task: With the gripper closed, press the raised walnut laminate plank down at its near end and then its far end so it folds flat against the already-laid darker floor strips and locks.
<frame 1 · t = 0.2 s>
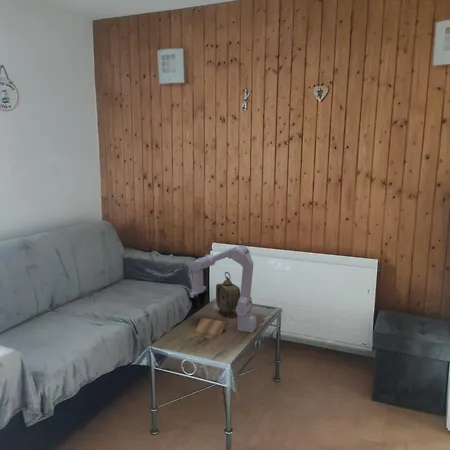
hand: (198, 306, 233), 10 cm above the table, fingers open, 7 cm apart
laid row: (205, 337, 217), on the table
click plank: (210, 327, 223), point 3 cm above the table, hinge at 35.0°
tabletop clock: (228, 314, 248), on the table
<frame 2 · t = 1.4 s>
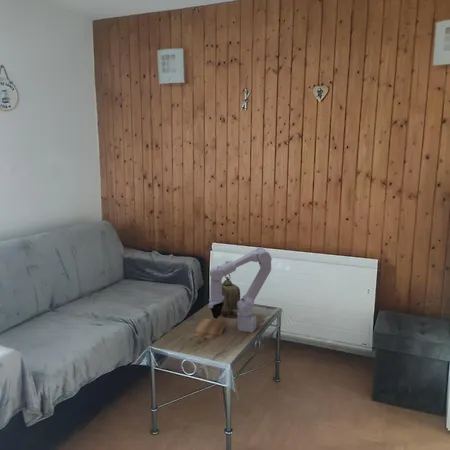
hand: (216, 317, 221), 8 cm above the table, fingers closed
nothing on the table moved.
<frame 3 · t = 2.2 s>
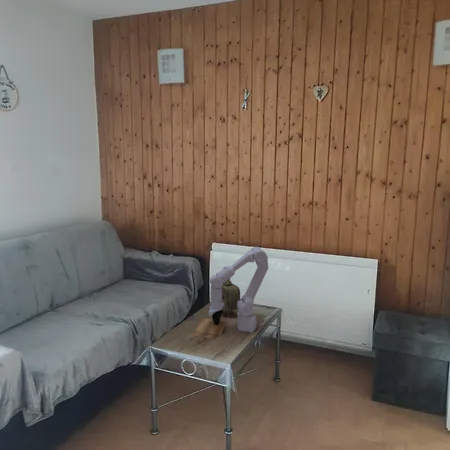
hand: (216, 324, 222), 5 cm above the table, fingers closed
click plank: (210, 327, 223), point 3 cm above the table, hinge at 34.9°, touching gripper
everything else where it was.
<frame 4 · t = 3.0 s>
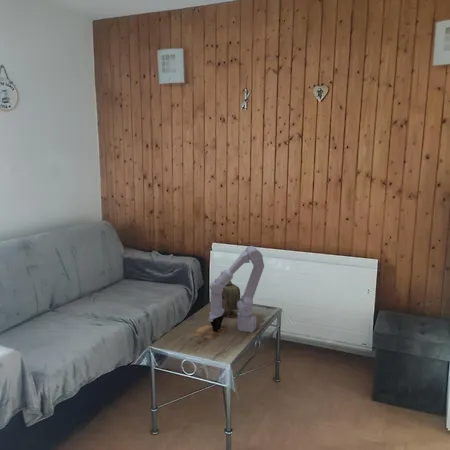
hand: (216, 330, 223), 1 cm above the table, fingers closed on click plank, 2 cm apart
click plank: (211, 330, 223), point 1 cm above the table, hinge at 2.7°, touching gripper
everything else where it was.
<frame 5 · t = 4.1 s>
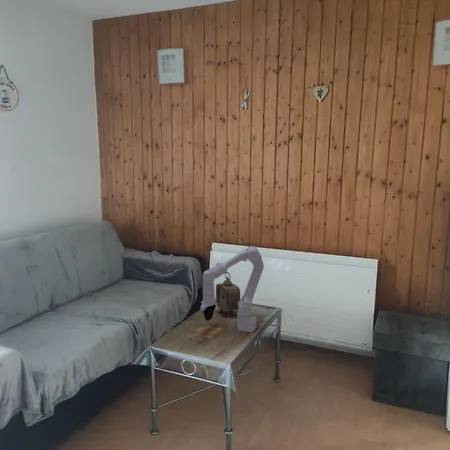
hand: (208, 319, 223), 7 cm above the table, fingers closed
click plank: (211, 331, 223), point 1 cm above the table, hinge at 1.0°
everything else where it was.
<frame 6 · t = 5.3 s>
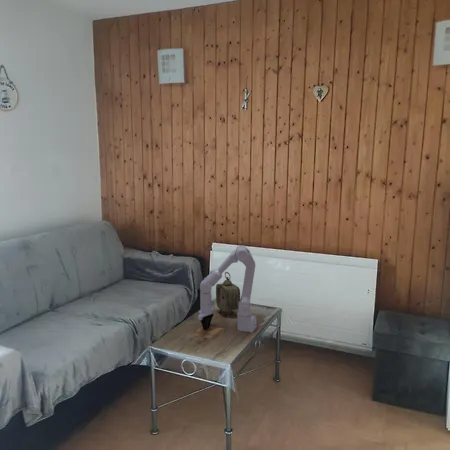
hand: (206, 328, 225), 1 cm above the table, fingers closed
nothing on the table moved.
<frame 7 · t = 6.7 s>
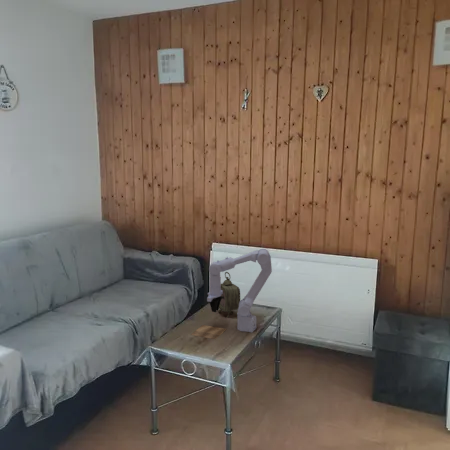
hand: (215, 311, 225), 10 cm above the table, fingers closed
nothing on the table moved.
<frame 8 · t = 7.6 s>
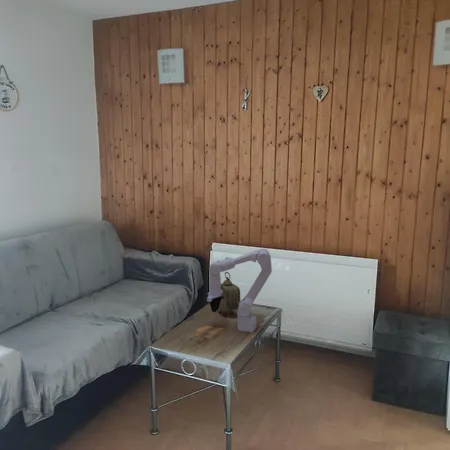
hand: (215, 311, 225), 10 cm above the table, fingers closed
nothing on the table moved.
at the end: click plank at +1° (first picture: +35°); the gripper is holding nothing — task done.
